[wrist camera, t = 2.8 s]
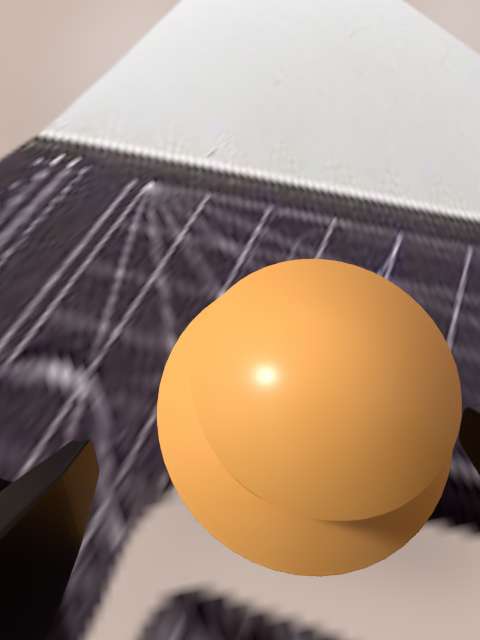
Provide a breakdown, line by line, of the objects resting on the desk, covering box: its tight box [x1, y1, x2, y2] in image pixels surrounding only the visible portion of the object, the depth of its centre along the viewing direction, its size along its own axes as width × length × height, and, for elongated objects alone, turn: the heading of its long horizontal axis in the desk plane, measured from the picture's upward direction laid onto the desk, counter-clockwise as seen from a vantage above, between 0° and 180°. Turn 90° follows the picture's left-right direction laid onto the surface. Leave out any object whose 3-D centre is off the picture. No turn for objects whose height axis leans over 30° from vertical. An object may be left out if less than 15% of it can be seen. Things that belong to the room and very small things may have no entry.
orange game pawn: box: [157, 259, 462, 576], centre depth 10 cm, size 6×6×13 cm
